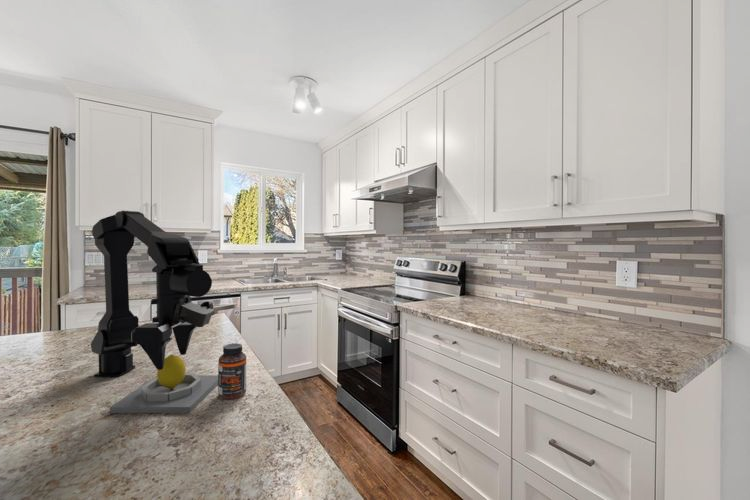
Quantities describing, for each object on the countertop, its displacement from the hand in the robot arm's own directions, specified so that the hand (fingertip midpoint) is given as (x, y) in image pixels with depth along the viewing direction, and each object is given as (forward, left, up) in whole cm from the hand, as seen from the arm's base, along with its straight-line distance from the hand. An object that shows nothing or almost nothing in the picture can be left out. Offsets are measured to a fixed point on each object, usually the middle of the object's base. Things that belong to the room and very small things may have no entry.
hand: (172, 361), depth 77 cm
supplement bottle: (+13, 0, -8) cm, 16 cm away
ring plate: (0, 0, -8) cm, 8 cm away
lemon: (0, 0, -7) cm, 7 cm away
